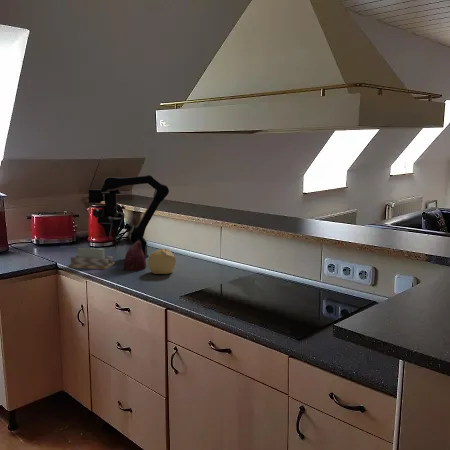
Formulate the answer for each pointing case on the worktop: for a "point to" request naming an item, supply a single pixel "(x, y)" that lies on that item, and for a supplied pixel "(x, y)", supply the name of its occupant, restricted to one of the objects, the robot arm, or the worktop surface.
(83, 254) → the rectangular block
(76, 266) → the track
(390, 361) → the worktop surface
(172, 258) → the yellow rounded lump
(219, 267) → the worktop surface
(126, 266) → the vegetable
